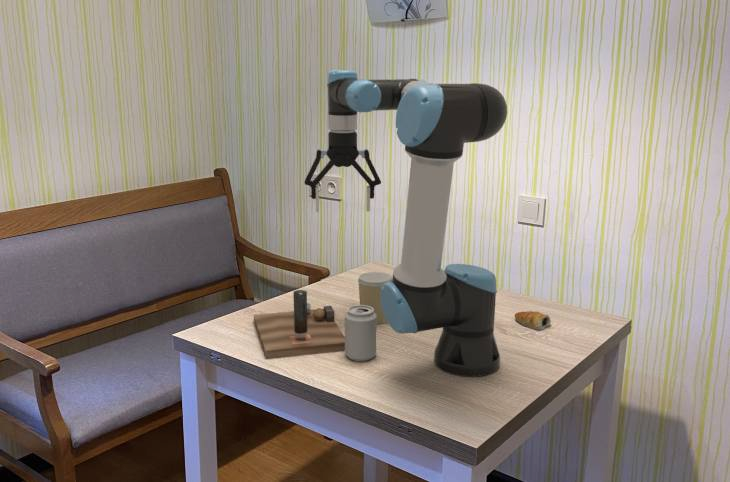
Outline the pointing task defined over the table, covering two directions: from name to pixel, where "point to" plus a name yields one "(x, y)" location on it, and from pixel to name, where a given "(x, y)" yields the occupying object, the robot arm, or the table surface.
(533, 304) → the table surface
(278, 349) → the nutcracker board
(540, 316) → the pastry
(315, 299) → the table surface
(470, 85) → the robot arm
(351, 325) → the can
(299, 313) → the lever
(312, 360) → the table surface
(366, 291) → the coffee cup
